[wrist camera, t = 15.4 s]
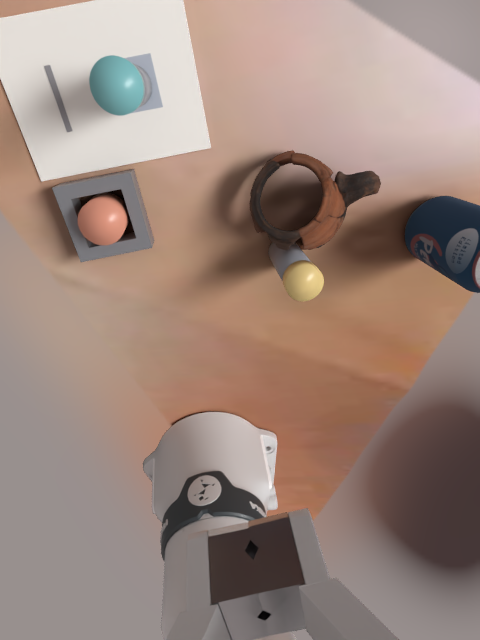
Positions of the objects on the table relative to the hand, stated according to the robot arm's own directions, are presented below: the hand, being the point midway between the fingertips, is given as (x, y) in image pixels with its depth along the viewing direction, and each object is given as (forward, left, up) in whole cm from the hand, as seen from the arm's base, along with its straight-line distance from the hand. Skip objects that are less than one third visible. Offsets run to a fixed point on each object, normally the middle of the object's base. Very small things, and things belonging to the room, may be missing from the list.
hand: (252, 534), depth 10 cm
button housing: (+2, +9, -34) cm, 35 cm away
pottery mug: (0, -10, -34) cm, 36 cm away
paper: (+12, +6, -34) cm, 37 cm away
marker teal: (+12, +4, -34) cm, 36 cm away
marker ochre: (-6, -7, -34) cm, 35 cm away
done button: (+2, +9, -34) cm, 35 cm away
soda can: (-6, -24, -34) cm, 42 cm away
